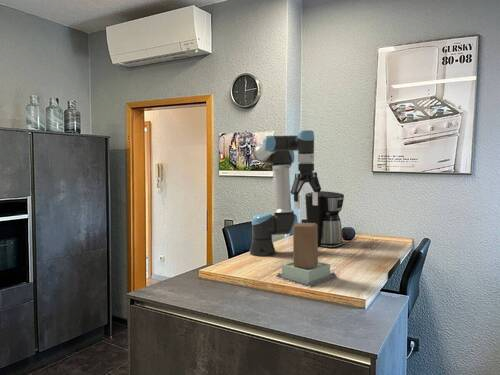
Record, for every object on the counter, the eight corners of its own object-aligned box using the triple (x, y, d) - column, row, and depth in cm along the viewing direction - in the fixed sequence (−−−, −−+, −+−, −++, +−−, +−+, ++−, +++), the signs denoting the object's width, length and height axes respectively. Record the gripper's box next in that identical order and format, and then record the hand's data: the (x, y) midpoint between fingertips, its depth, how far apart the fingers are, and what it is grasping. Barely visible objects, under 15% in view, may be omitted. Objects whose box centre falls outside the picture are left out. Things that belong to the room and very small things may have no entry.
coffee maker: (343, 249, 238) (343, 194, 235) (290, 247, 246) (290, 193, 244) (344, 241, 260) (344, 190, 257) (296, 239, 268) (295, 190, 266)
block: (314, 270, 178) (314, 226, 177) (293, 268, 181) (292, 225, 180) (318, 264, 188) (317, 222, 186) (297, 262, 191) (297, 222, 189)
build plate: (276, 277, 185) (275, 264, 185) (303, 268, 199) (302, 256, 199) (309, 287, 171) (309, 273, 170) (336, 276, 184) (336, 263, 184)
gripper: (294, 164, 177) (295, 210, 179) (328, 162, 194) (328, 204, 196) (282, 163, 182) (283, 208, 185) (316, 161, 199) (316, 203, 201)
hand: (306, 206), depth 190 cm, fingers open, 13 cm apart
